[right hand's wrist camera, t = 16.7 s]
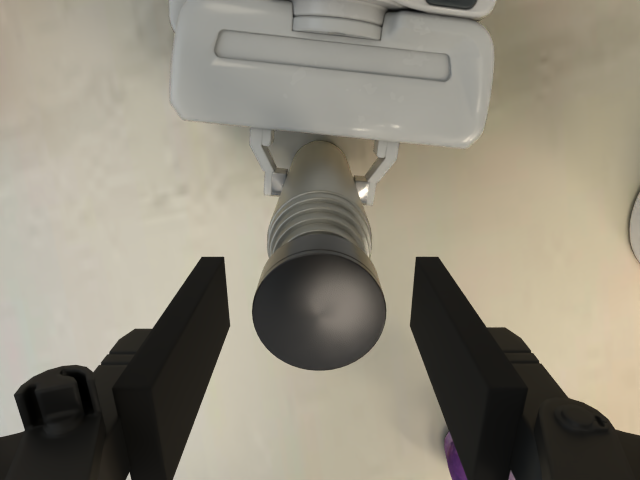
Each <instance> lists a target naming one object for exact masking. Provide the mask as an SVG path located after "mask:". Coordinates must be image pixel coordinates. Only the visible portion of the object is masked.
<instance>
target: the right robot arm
mask: <svg viewBox="0 0 640 480" xmlns="http://www.w3.org/2000/svg"><path fill="white" fill-rule="evenodd" d="M229 327H230V320H229V308H228V297H227V285H226V274H225V263H224V257H201V259H200V260H199V262H198V263H197V265H196V266H195V268H194V269H193V271H192V272H191V273H190V275H189V276H188V278H187V279H186V281H185V282H184V284H183V285H182V287H181V288H180V289H179V291H178V292H177V294H176V295H175V297H174V298H173V300H172V301H171V303H170V304H169V305H168V307H167V308H166V310H165V311H164V313H163V314H162V316H161V317H160V319H159V320H158V322H157V323H156V324H155V326H154V327H153V329H134V330H133V331H131V332H130V333H128V334H127V335H125V336H124V337H122V338H121V339H119V340H118V342H117V343H116V344H115V346H114V347H113V348H112V349H111V351H110V352H109V354H107V356H106V357H105V358H104V359H103V361H102V362H101V365H99V366H98V367H97V368H96V370H95V371H94V372H92V371H91V370H90V369H88V368H87V367H84V366H79V365H70V366H61V367H57V368H54V369H50V370H47V371H45V372H43V373H41V374H38V375H36V376H34V377H32V378H31V379H30V380H28V381H27V382H26V383H24V384H23V385H21V387H20V388H19V389H18V390H17V392H16V393H15V394H14V397H15V400H16V403H17V406H18V409H19V413H20V416H21V419H22V422H23V425H24V428H25V431H24V432H21V433H17V434H13V435H9V436H4V437H0V480H126V478H127V476H128V474H129V472H130V475H131V480H173V477H174V475H175V472H176V469H177V467H178V464H179V461H180V459H181V456H182V453H183V451H184V448H185V445H186V443H187V440H188V437H189V435H190V432H191V429H192V427H193V424H194V421H195V418H196V416H197V413H198V410H199V408H200V405H201V402H202V400H203V397H204V394H205V392H206V389H207V386H208V384H209V381H210V378H211V376H212V373H213V370H214V368H215V365H216V362H217V359H218V357H219V354H220V351H221V349H222V346H223V343H224V341H225V338H226V335H227V333H228V330H229ZM410 327H411V330H412V333H413V335H414V338H415V341H416V343H417V346H418V349H419V351H420V354H421V357H422V359H423V362H424V365H425V368H426V370H427V373H428V376H429V378H430V381H431V384H432V386H433V389H434V392H435V394H436V397H437V400H438V402H439V405H440V408H441V410H442V413H443V416H444V418H445V421H446V424H447V427H448V429H449V432H450V435H451V437H452V440H453V443H454V445H455V448H456V451H457V453H458V456H459V459H460V461H461V464H462V467H463V469H464V472H465V475H466V477H467V480H509V475H510V471H511V472H512V474H513V476H514V478H515V480H640V436H639V435H635V434H631V433H626V432H622V431H619V430H615V428H614V427H613V426H612V424H611V423H610V421H609V420H608V419H607V418H606V417H605V416H604V415H602V414H601V413H600V412H599V411H598V410H596V409H594V408H592V407H590V406H589V405H587V404H585V403H583V402H579V401H576V400H573V399H570V398H568V397H567V395H566V394H565V393H564V392H563V390H562V389H561V388H560V387H559V385H558V384H557V383H556V382H555V380H554V379H553V378H552V377H551V375H550V374H549V373H548V372H547V370H546V369H545V368H544V366H543V365H542V364H539V360H538V359H537V358H536V356H535V355H534V354H533V353H531V350H530V349H529V348H528V346H527V345H526V344H525V343H524V341H523V340H522V339H521V338H520V337H519V336H517V335H516V334H514V333H513V332H511V331H510V330H508V329H507V328H487V327H486V326H485V324H484V323H483V322H482V320H481V319H480V317H479V316H478V314H477V313H476V311H475V310H474V308H473V307H472V305H471V304H470V303H469V301H468V300H467V298H466V297H465V295H464V294H463V292H462V291H461V289H460V288H459V287H458V285H457V284H456V282H455V281H454V279H453V278H452V276H451V275H450V273H449V272H448V271H447V269H446V268H445V266H444V265H443V263H442V262H441V260H440V259H439V257H416V263H415V274H414V285H413V297H412V308H411V320H410Z"/></svg>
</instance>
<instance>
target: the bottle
mask: <svg viewBox="0 0 640 480" xmlns="http://www.w3.org/2000/svg"><path fill="white" fill-rule="evenodd" d="M312 234H327V235H333V236H337V237H340V238H343V239H346V240H348V241H350V242H352V243H353V244H355V245H356V246H358V247H359V248H360V249H361V250H362V251H363V252H365V254H366V255H367V256H368V257H369V258H370V256H371V251H372V234H371V228H370V225H369V222H368V219H367V216H366V213H365V210H364V207H363V205H362V202H361V199H360V196H359V193H358V190H357V188H356V185H355V182H354V179H353V176H352V173H351V171H350V168H349V165H348V162H347V159H346V157H345V155H344V153H343V152H342V151H341V150H340V149H339V148H338V147H337V146H335V145H334V144H332V143H329V142H326V141H314V142H310V143H308V144H306V145H304V146H303V147H302V148H300V149H299V151H298V152H297V153H296V155H295V156H294V158H293V161H292V164H291V167H290V169H289V172H288V175H287V178H286V181H285V183H284V186H283V189H282V192H281V194H280V197H279V200H278V203H277V205H276V208H275V211H274V214H273V216H272V219H271V222H270V225H269V229H268V235H267V250H268V256H269V258H270V257H271V255H272V254H273V253H274V252H275V251H276V250H277V249H278V248H280V247H281V246H282V245H284V244H285V243H287V242H289V241H291V240H293V239H295V238H298V237H301V236H305V235H312Z"/></svg>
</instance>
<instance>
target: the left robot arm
mask: <svg viewBox="0 0 640 480" xmlns="http://www.w3.org/2000/svg"><path fill="white" fill-rule="evenodd" d="M495 3H496V0H169V19H170V24H171V27H172V30H173V31H174V33H175V35H174V42H173V49H172V58H171V70H170V91H169V93H170V104H171V106H172V107H173V109H174V110H175V111H176V113H177V114H178V115H179V117H180V118H181V119H182V120H185V121H193V122H203V123H213V124H222V125H232V126H242V127H250V147H251V148H252V150H253V152H254V154H255V156H256V158H257V160H258V162H259V164H260V166H261V168H262V170H263V171H265V180H264V195H265V196H276V197H280V194H281V192H282V189H283V186H284V183H285V181H286V178H287V175H288V169H284V168H277V166H276V164H275V162H274V160H273V158H272V156H271V153H270V151H269V149H268V147H267V146H270V145H271V144H272V142H273V141H274V130H281V131H291V132H301V133H311V134H321V135H330V136H340V137H350V138H360V139H370V140H374V148H373V152H374V153H375V154H376V155H377V157H378V159H377V160H376V161H375V163H374V164H373V165H372V167H371V168H370V169H369V171H368V172H367V173H366V175H365V176H354V178H353V179H354V182H355V185H356V188H357V190H358V193H359V196H360V199H361V202H362V205H368V206H372V205H373V203H374V197H375V190H376V183H377V182H379V181H380V180H381V179H382V177H383V176H384V175H385V174H386V172H387V171H388V170H389V169H390V167H391V166H392V165H393V164H394V163H395V161H396V160H397V155H398V149H399V143H409V144H419V145H428V146H438V147H448V148H458V149H467V148H469V147H470V146H471V145H472V144H473V143H474V142H476V141H477V140H478V139H479V138H480V137H481V135H482V133H483V131H484V127H485V123H486V119H487V114H488V109H489V104H490V97H491V90H492V82H493V72H494V60H495V53H494V44H493V40H492V37H491V35H490V33H489V32H488V30H487V29H486V28H485V27H484V26H483V25H482V24H480V23H479V22H477V21H479V20H481V19H483V18H484V17H486V16H487V15H488V14H490V13H491V11H492V10H493V8H494V6H495ZM629 232H630V242H631V246H632V249H633V252H634V254H635V256H636V258H637V260H638V261H639V263H640V193H639V195H638V197H637V199H636V201H635V204H634V207H633V210H632V214H631V219H630V231H629Z"/></svg>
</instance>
